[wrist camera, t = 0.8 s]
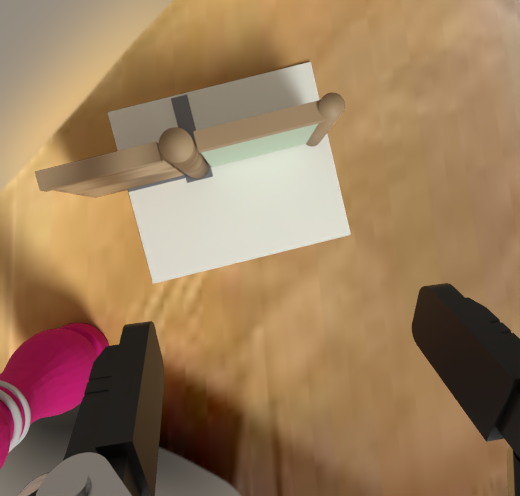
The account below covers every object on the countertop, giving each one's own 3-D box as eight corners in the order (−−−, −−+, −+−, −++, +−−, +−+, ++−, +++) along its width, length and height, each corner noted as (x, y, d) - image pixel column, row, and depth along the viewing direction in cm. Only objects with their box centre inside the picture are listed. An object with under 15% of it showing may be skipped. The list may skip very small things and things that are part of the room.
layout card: (310, 63, 36) (310, 61, 35) (349, 234, 37) (350, 234, 36) (108, 113, 36) (107, 112, 35) (154, 283, 37) (153, 283, 36)
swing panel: (319, 125, 35) (341, 89, 26) (323, 143, 35) (347, 115, 26) (207, 152, 35) (191, 127, 26) (212, 171, 35) (198, 152, 26)
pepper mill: (42, 317, 37) (-209, 424, 17) (115, 317, 37) (-48, 425, 17) (43, 388, 37) (-200, 575, 17) (116, 388, 37) (-43, 575, 17)
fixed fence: (206, 152, 36) (187, 123, 26) (212, 176, 36) (196, 157, 26) (90, 180, 36) (27, 163, 26) (97, 204, 36) (37, 196, 26)
